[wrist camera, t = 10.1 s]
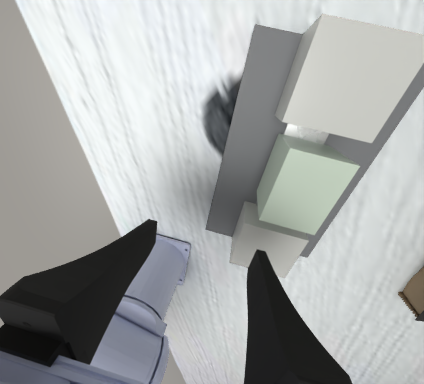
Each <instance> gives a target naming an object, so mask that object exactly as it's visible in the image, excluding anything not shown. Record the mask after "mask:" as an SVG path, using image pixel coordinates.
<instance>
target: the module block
mask: <svg viewBox="0 0 424 384" xmlns="http://www.w3.org/2000/svg"><path fill="white" fill-rule="evenodd" d="M359 167H360V166H359V165H358V164H356V163H355V162H353V161H352V160H350V159H349V158H347V157H346V156H344V155H343V154H341V153H340V152H338V151H337V150H335V149H334V148H332V147H330V146H328V145H324V144H320V143H316V142H312V141H308V140H304V139H300V138H296V137H292V136H288V135H284V134H280V133H279V134H278V136H277V139H276V142H275V144H274V147H273V149H272V152H271V155H270V157H269V160H268V162H267V165H266V168H265V170H264V173H263V175H262V178H261V181H260V183H259V186H258V188H257V203H258V214H259V220H261V221H264V222H268V223H272V224H275V225H279V226H283V227H286V228H290V229H293V230H297V231H301V232H304V233H308V234H312V235H315V234H316V232H317V231H318V229H319V228H320V226H321V225H322V223H323V222H324V220H325V219H326V217H327V216H328V214H329V213H330V211H331V210H332V208H333V207H334V205H335V204H336V202H337V201H338V199H339V198H340V196H341V195H342V193H343V192H344V190H345V189H346V187H347V186H348V184H349V183H350V181H351V180H352V178H353V176H354V175H355V173H356V172H357V170H358V169H359Z"/></svg>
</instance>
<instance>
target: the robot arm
mask: <svg viewBox="0 0 424 384" xmlns="http://www.w3.org/2000/svg"><path fill="white" fill-rule="evenodd" d="M156 232H157V221H154V220H150V219H148V220H147V221H145V222H144V223H142V224H141V225H139V226H138V227H136V228H135V229H134V230H132V231H130V232H129V233H127V234H126V235H124V236H123V237H121V238H119V239H118V240H116V241H114V242H112V243H111V244H109V245H107V246H105V247H103V248H101V249H99V250H97V251H95V252H93V253H91V254H89V255H86V256H84V257H82V258H79V259H77V260H74V261H72V262H69V263H66V264H64V265H61V266H58V267H55V268H52V269H49V270H46V271H42V272H39V273H35V274H32V275H29V276H25V277H23V278H22V279H20V280H19V281H18V282H17V283H15V284H14V285H13V286H12V287H10V288H9V289H8V290H7V291H6V292H4V293H3V294H2V295H1V296H0V318H1V319H2V321H3V322H4V323H5V324H4V325H3V326H2V327H1V328H0V384H161V382H162V379H163V376H164V373H165V370H166V367H167V363H168V357H169V345H168V344H169V343H168V338H167V336H165V335H164V332H165V329H166V326H167V324H166V323H164V322H163V320H164V318H165V315H166V312H167V309H168V307H169V304H170V301H171V299H172V296H173V293H174V291H175V288H176V285H183V283H184V278H185V273H186V268H187V263H188V258H189V253H190V248H191V246H190V244H188V243H185V242H181V241H178V240H174V239H171V238H167V237H163V236H160V235H156ZM247 304H248V336H247V353H246V366H245V378H244V384H352V382H351V379H350V377H349V375H348V374H347V373H346V372H345V371H344V370H343V369H342V367H341V366H340V365H339V364H338V363H337V362H336V361H335V360H334V359H333V357H332V356H331V355H330V354H329V353H328V352H327V350H326V349H325V348H324V347H323V346H322V344H321V343H320V342H319V341H318V339H317V338H316V337H315V336H314V334H313V333H312V332H311V330H310V329H309V328H308V326H307V325H306V324H305V322H304V321H303V320H302V318H301V317H300V315H299V314H298V312H297V311H296V309H295V308H294V306H293V304H292V303H291V301H290V299H289V298H288V296H287V294H286V293H285V291H284V289H283V287H282V285H281V283H280V281H279V279H278V277H277V275H276V273H275V271H274V269H273V267H272V265H271V262H270V260H269V258H268V256H267V253H266V251H262V250H259V249H257V250H256V252H255V254H254V256H253V258H252V260H251V263H250V265H249V267H248V273H247Z"/></svg>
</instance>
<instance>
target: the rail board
mask: <svg viewBox="0 0 424 384" xmlns="http://www.w3.org/2000/svg"><path fill="white" fill-rule="evenodd" d="M302 36H303V34H298V33H293V32H289V31H284V30H279V29H275V28H270V27H265V26H261V25H256V24H255V26H254V31H253V35H252V39H251V43H250V47H249V51H248V55H247V60H246V64H245V68H244V72H243V76H242V80H241V84H240V89H239V93H238V97H237V101H236V105H235V109H234V113H233V118H232V122H231V126H230V130H229V134H228V138H227V142H226V146H225V151H224V155H223V159H222V163H221V167H220V171H219V175H218V180H217V184H216V188H215V192H214V196H213V200H212V204H211V209H210V213H209V217H208V221H207V225H206V229H205V230H209V231H213V232H216V233H220V234H224V235H227V236H231V237H232V236H233V233H234V231H235V228H236V225H237V222H238V219H239V216H240V213H241V211H242V208H243V205H244V202H245V201H247V202H251V203H254V204H256V206H258V203H257V188H258V186H259V183H260V181H261V178H262V175H263V173H264V170H265V168H266V165H267V162H268V160H269V157H270V155H271V152H272V149H273V147H274V144H275V142H276V139H277V136H278V134H279V133H280V134H284V135H288V136H292V137H296V138H300V139H304V140H308V141H312V142H316V143H320V144H324V145H328V146H330V147H332V148H334V149H335V150H337V151H338V152H340V153H341V154H343V155H344V156H346V157H347V158H349V159H350V160H352V161H353V162H355V163H356V164H358V165H359V166H360V167H359V169H358V170H357V172H356V173H355V175H354V176H353V178H352V180H351V181H350V183H349V184H348V186H347V187H346V189H345V190H344V192H343V193H342V195H341V196H340V198H339V199H338V201H337V202H336V204H335V205H334V207H333V208H332V210H331V211H330V213H329V214H328V216H327V217H326V219H325V220H324V222H323V223H322V225H321V226H320V228H319V229H318V231H317V232H316V234H315V235H312V234H308V233H306V235H307V237H308V240H309V242H308V243H307V245H306V246H305V248H304V249H303V251H302V252H301V254H300V256H303V257H308V256H309V254H310V253H311V251H312V250H313V249H314V247H315V246H316V244H317V243H318V241H319V240H320V238H321V237H322V235H323V234H324V232H325V231H326V229H327V228H328V227H329V225H330V224H331V222H332V221H333V219H334V218H335V216H336V215H337V213H338V212H339V210H340V209H341V207H342V206H343V204H344V203H345V202H346V200H347V199H348V197H349V196H350V194H351V193H352V191H353V190H354V188H355V187H356V185H357V184H358V182H359V181H360V180H361V178H362V177H363V175H364V174H365V172H366V171H367V169H368V168H369V166H370V165H371V163H372V162H373V160H374V159H375V158H376V156H377V155H378V153H379V152H380V150H381V149H382V147H383V146H384V144H385V143H386V141H387V140H388V138H389V137H390V136H391V134H392V133H393V131H394V130H395V128H396V127H397V125H398V124H399V122H400V121H401V119H402V118H403V116H404V115H405V114H406V112H407V111H408V109H409V108H410V106H411V105H412V103H413V102H414V100H415V99H416V97H417V96H418V94H419V93H420V92H421V90H422V89H423V87H424V63H423V65H422V66H421V68H420V69H419V71H418V73H417V74H416V76H415V77H414V79H413V80H412V82H411V83H410V85H409V86H408V88H407V90H406V91H405V93H404V94H403V96H402V97H401V99H400V100H399V102H398V104H397V105H396V107H395V108H394V110H393V111H392V113H391V114H390V116H389V117H388V119H387V121H386V122H385V124H384V125H383V127H382V128H381V130H380V131H379V133H378V135H377V136H376V138H375V139H374V141H373V142H372V143H368V142H364V141H360V140H356V139H352V138H347V137H343V136H339V135H335V134H331V133H326V132H322V131H318V130H314V129H310V128H306V127H301V126H297V125H293V124H289V123H285V122H282V121H281V120H279V119H278V118H277V117H276V116H275V113H276V110H277V107H278V104H279V102H280V99H281V96H282V93H283V90H284V87H285V84H286V81H287V79H288V76H289V73H290V70H291V67H292V64H293V61H294V58H295V56H296V53H297V50H298V47H299V44H300V41H301V38H302Z"/></svg>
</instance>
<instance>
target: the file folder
mask: <svg viewBox="0 0 424 384" xmlns="http://www.w3.org/2000/svg"><path fill="white" fill-rule="evenodd" d="M398 293H399V294H398V295H399V296H400V297H401V298H403V299H402V300H404V301H403V302H405V304H407V305H406V306H408V308H409V309H411V311H413V314H415V317H417V318H416V319H415V320H416V321H424V267H423V268H422V269H421V270H420V271H419V272H418V273H417V274H415V275H414V276H413V277H412V278H411V280H410V281H409V282H408V283H407V285H406V287H405V288H404V290H403V292H398Z"/></svg>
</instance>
